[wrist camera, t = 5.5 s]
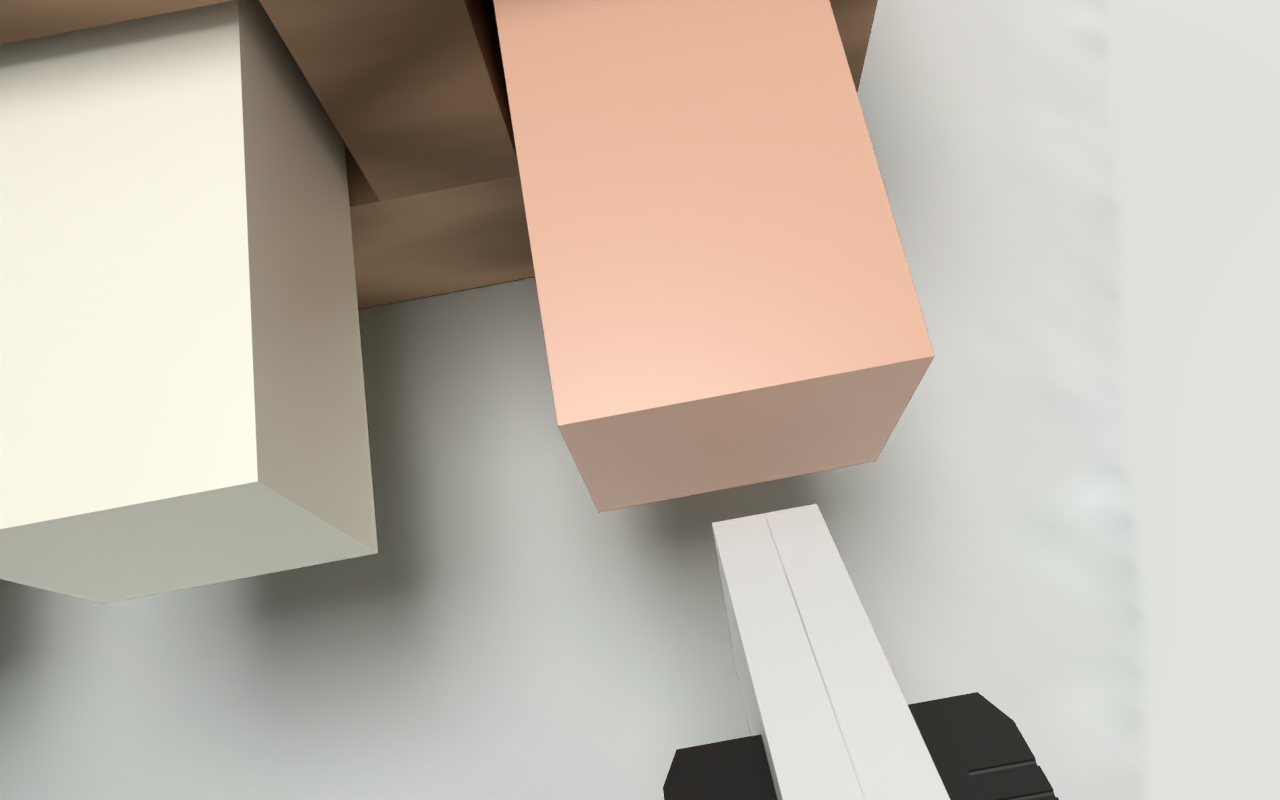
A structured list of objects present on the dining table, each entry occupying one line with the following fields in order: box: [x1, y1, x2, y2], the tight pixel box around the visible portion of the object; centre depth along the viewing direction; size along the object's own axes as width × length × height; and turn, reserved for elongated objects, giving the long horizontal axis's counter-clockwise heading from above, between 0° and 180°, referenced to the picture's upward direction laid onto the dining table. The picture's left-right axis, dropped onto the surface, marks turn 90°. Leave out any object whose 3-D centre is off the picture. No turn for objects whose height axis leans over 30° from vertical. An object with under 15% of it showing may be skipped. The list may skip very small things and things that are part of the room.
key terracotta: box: [493, 0, 935, 512], centre depth 17 cm, size 5×9×5 cm, turn 10°
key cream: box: [0, 0, 378, 604], centre depth 17 cm, size 5×9×5 cm, turn 10°
